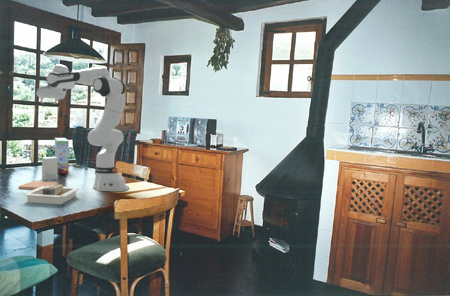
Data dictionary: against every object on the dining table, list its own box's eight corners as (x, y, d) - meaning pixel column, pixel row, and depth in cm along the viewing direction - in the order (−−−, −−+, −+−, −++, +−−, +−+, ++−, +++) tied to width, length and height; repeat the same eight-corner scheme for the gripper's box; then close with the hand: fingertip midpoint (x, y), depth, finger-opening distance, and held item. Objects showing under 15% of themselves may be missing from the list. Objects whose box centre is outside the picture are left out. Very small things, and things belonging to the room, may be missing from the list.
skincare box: (53, 177, 228) (54, 156, 226) (57, 179, 223) (58, 157, 222) (41, 179, 221) (41, 156, 220) (45, 180, 217) (45, 158, 215)
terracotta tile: (58, 184, 209) (58, 182, 209) (45, 190, 193) (45, 187, 193) (33, 183, 208) (33, 180, 208) (18, 188, 192) (18, 186, 192)
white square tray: (80, 195, 187) (80, 187, 187) (63, 205, 166) (63, 197, 166) (43, 193, 187) (43, 185, 186) (21, 203, 165) (21, 194, 165)
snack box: (53, 168, 260) (54, 137, 257) (65, 168, 264) (66, 137, 262) (56, 173, 241) (56, 140, 239) (68, 173, 246) (69, 140, 244)
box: (62, 196, 182) (62, 184, 182) (51, 202, 170) (51, 189, 170) (53, 196, 182) (53, 184, 182) (42, 201, 170) (42, 188, 170)
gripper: (43, 86, 212) (37, 104, 216) (69, 89, 231) (62, 105, 235) (37, 81, 214) (31, 99, 218) (63, 85, 233) (57, 101, 237)
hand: (47, 102), depth 226 cm, fingers open, 8 cm apart
